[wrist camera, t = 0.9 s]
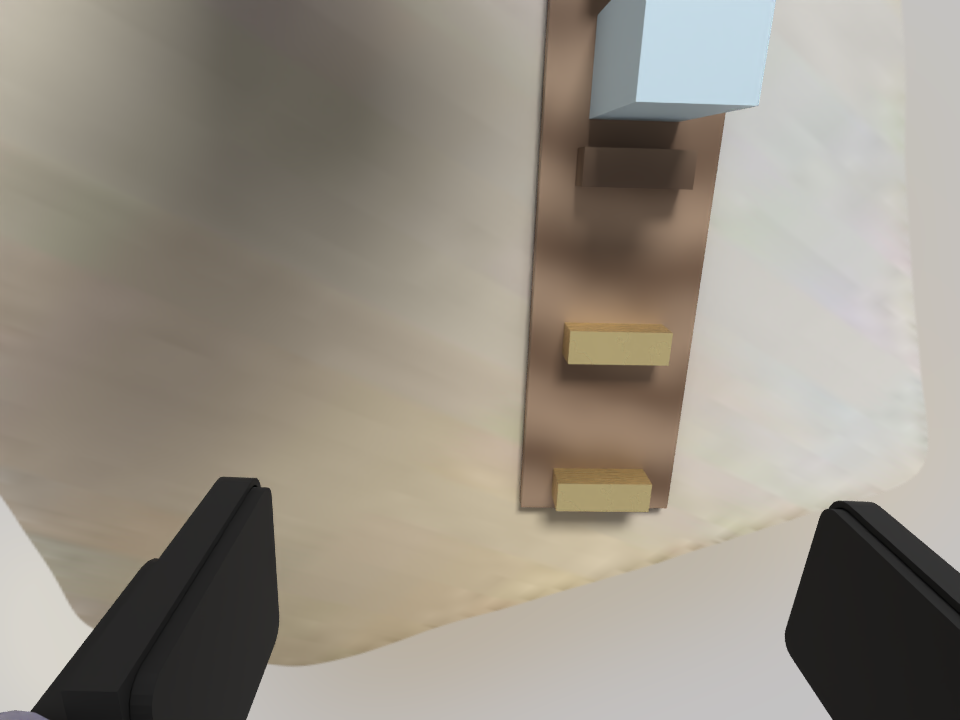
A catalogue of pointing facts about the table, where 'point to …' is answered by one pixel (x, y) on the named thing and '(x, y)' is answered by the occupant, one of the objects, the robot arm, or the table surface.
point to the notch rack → (610, 286)
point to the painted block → (679, 58)
